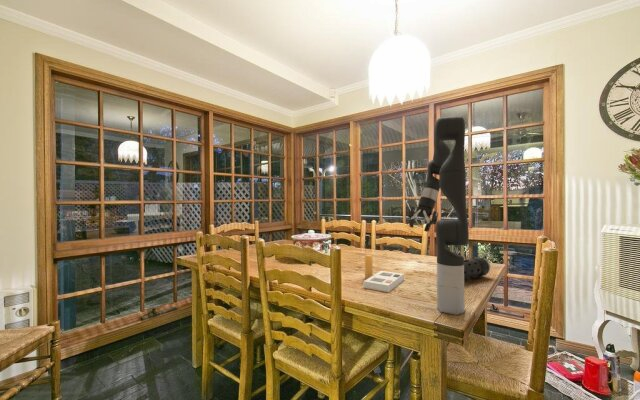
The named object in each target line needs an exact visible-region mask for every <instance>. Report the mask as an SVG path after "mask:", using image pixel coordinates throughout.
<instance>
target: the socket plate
mask: <svg viewBox="0 0 640 400" xmlns="http://www.w3.org/2000/svg"><path fill="white" fill-rule="evenodd" d="M403 281H405V274H404V273H400V272H392V271H391V272H390V271H385V270H380V271H378V272H377V273H375V274H373V276H372V277H370V278H368V279H364V280H363V288H364V289H369V290H373V291H378V292H385V293H390V292H391V291H392V290H394V289H395V287H397V286H398V285H400V284H401V283H402V282H403Z"/></svg>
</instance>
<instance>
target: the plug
mask: <svg viewBox="0 0 640 400" xmlns="http://www.w3.org/2000/svg"><path fill="white" fill-rule="evenodd" d="M373 258H374V257H373V254H365V255H364V280H367V279H368V278H370V277H372V276H373V275H374V273H373V272H374V271H373V269H374V268H373V265H374V264H373V263H374V262H373V261H374V259H373Z"/></svg>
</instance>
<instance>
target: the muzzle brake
mask: <svg viewBox="0 0 640 400" xmlns="http://www.w3.org/2000/svg"><path fill="white" fill-rule="evenodd" d="M490 271H491V263H490V262H489V260H487V259H486V258H483V257H480V256H478V257H471V258H469V259H464V280H467V279H470V280H474V279H477V278H479V277H484V276H486V275H488V273H489V272H490Z"/></svg>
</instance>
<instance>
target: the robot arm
mask: <svg viewBox="0 0 640 400" xmlns="http://www.w3.org/2000/svg"><path fill="white" fill-rule="evenodd" d="M434 124H435V125H434V129H433V144H434V145H433V147H434V152H433V157H432V159H431V160H430V161H429V162H428V165H427V178H426V181H425V185H424V188H423V190H422V192H421V195H420V198H419V201H418V204H417V207H415V206H412V207H411V208H410V211H409V213H408V215H407V217H408V218H409V219H410V221H409V224H408V226H409V227H410V228H414V225H415V223H416V220H418V219H420V218H421V219H424V220H426V222H427V223H425V227H424V230H423V231H424V232H429V231H430V229H431V226H432V225H435V237H436V308H437V310H438V312H440V313H445V314H451V315H456V316H458V315H461V314H463V313H465V279H464V260H465V258H464V256H462V255H461V254H460V253H456V252H454V251H451V250H450V249H449V248H448V247H446V246H462V247H463V246H466V245H468V243H469V239H470V237H469V236H470V235H469V222H468V220H469V219H468V214H467V210H468V209H467V201H466V200H467V188H466V187H467V177H466V176H467V173H466V162H465V161H466V160H465V140H466V139H465V138H466V124H465V119H464V117H463V116H445V117H444V116H443V117H439V118H436V120H435V123H434ZM445 141H454V142H455V143H454V146H453V149H452V150H451V148H450V147H449V145H448V144H447V143H446V142H445ZM434 175H436V176H438V177H439V178H436V177H435V176H434ZM440 190H441V192H442V194H443V195H444V197H446V199H447V200H448V202H450V205H451V207H453V209H454V212H455V214H456V217H457V220H456V219H439V220H438V217H439V212H437V211H436V210H434V209H435V205H436V203H437V201H438V197H439V192H440ZM433 210H434V211H433ZM437 220H438V221H437Z"/></svg>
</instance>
